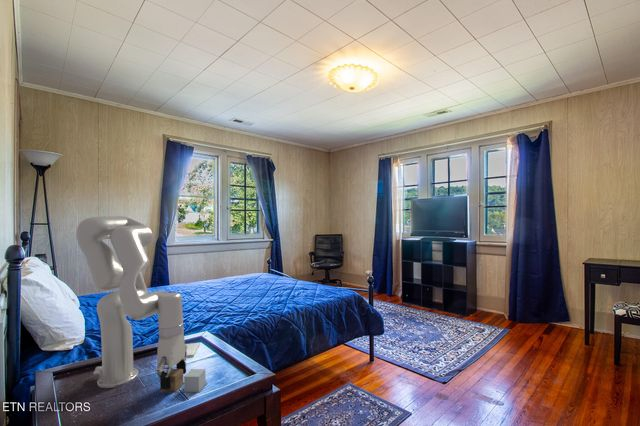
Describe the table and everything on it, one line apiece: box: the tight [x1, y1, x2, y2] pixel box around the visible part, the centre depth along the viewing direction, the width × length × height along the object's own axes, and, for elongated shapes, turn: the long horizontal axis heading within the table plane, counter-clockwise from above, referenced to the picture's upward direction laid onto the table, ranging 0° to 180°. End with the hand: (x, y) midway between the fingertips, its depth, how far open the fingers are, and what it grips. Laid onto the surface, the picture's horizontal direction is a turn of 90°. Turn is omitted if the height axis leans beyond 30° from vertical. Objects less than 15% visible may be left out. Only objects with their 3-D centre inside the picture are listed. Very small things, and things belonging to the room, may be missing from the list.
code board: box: [159, 382, 208, 394], centre depth 106 cm, size 16×10×1 cm, turn 86°
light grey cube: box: [183, 368, 207, 392], centre depth 106 cm, size 5×5×5 cm
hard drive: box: [185, 342, 201, 359], centre depth 137 cm, size 2×8×12 cm
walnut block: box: [160, 368, 184, 393], centre depth 107 cm, size 5×5×5 cm
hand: (174, 380), depth 107 cm, fingers open, 9 cm apart
